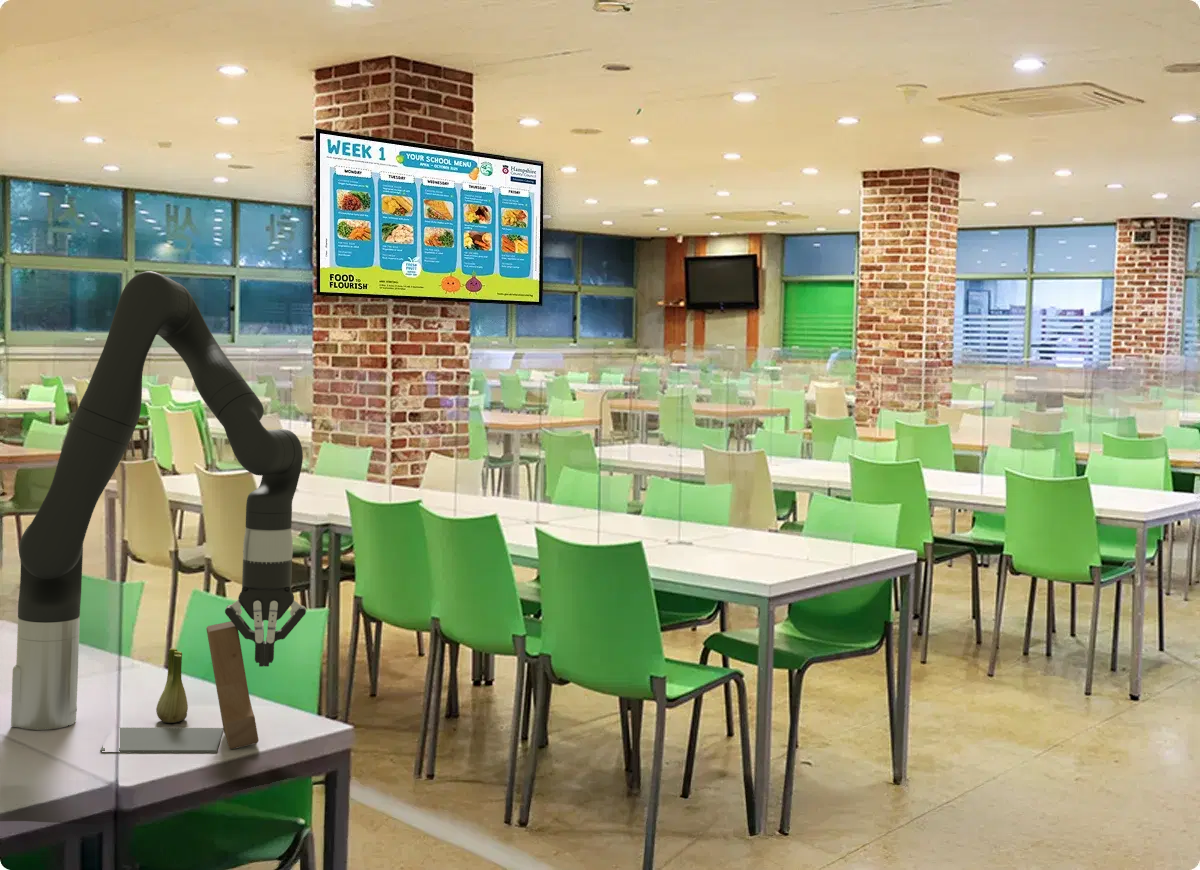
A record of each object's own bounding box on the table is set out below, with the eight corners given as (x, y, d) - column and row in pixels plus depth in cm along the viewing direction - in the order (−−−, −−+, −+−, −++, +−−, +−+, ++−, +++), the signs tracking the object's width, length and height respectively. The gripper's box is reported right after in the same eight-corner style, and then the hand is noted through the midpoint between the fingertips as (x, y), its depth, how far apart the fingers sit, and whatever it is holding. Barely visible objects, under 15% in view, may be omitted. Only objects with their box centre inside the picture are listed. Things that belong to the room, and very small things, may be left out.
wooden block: (259, 743, 209) (240, 631, 207) (229, 750, 208) (210, 638, 205) (252, 727, 218) (234, 619, 215) (224, 734, 216) (205, 625, 214)
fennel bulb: (181, 727, 219) (184, 654, 218) (150, 725, 219) (153, 652, 218) (191, 717, 224) (194, 646, 224) (161, 716, 224) (164, 644, 224)
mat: (100, 752, 203) (100, 750, 203) (113, 729, 215) (113, 727, 215) (216, 752, 206) (216, 750, 206) (223, 730, 218) (223, 727, 218)
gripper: (222, 559, 206) (218, 671, 207) (310, 560, 209) (306, 671, 210) (225, 552, 214) (222, 660, 215) (311, 553, 216) (307, 660, 217)
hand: (264, 665), depth 212 cm, fingers closed
